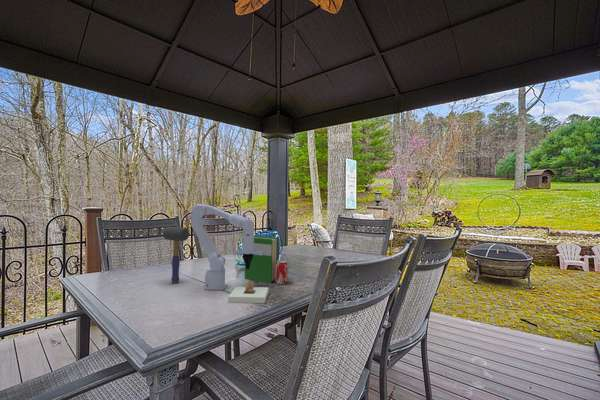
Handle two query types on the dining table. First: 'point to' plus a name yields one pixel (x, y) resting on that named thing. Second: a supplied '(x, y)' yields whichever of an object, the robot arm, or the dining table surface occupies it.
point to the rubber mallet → (175, 247)
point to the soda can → (281, 272)
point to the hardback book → (263, 260)
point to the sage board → (248, 295)
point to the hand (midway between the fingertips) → (247, 268)
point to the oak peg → (249, 287)
